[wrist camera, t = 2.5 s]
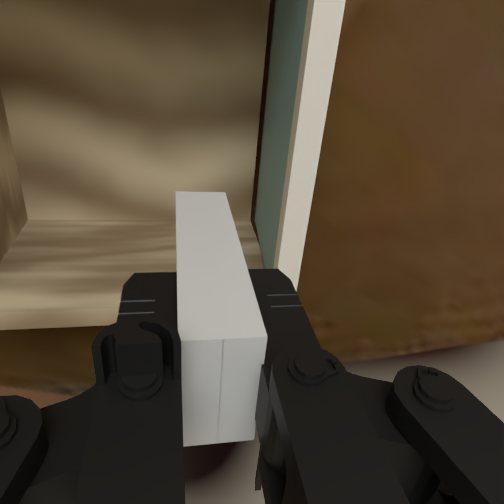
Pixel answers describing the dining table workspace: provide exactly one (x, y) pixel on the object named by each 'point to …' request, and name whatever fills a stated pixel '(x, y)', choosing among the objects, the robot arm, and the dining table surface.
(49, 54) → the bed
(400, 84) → the dining table surface
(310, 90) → the light blue flat panel
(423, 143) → the dining table surface
